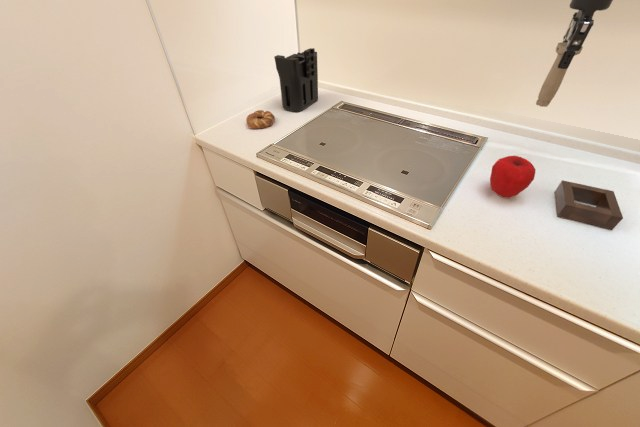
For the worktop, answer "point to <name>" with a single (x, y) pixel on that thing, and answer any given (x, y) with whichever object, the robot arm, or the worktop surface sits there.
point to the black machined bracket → (298, 79)
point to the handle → (553, 78)
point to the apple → (511, 176)
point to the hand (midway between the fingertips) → (561, 64)
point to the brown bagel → (260, 119)
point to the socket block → (598, 216)
